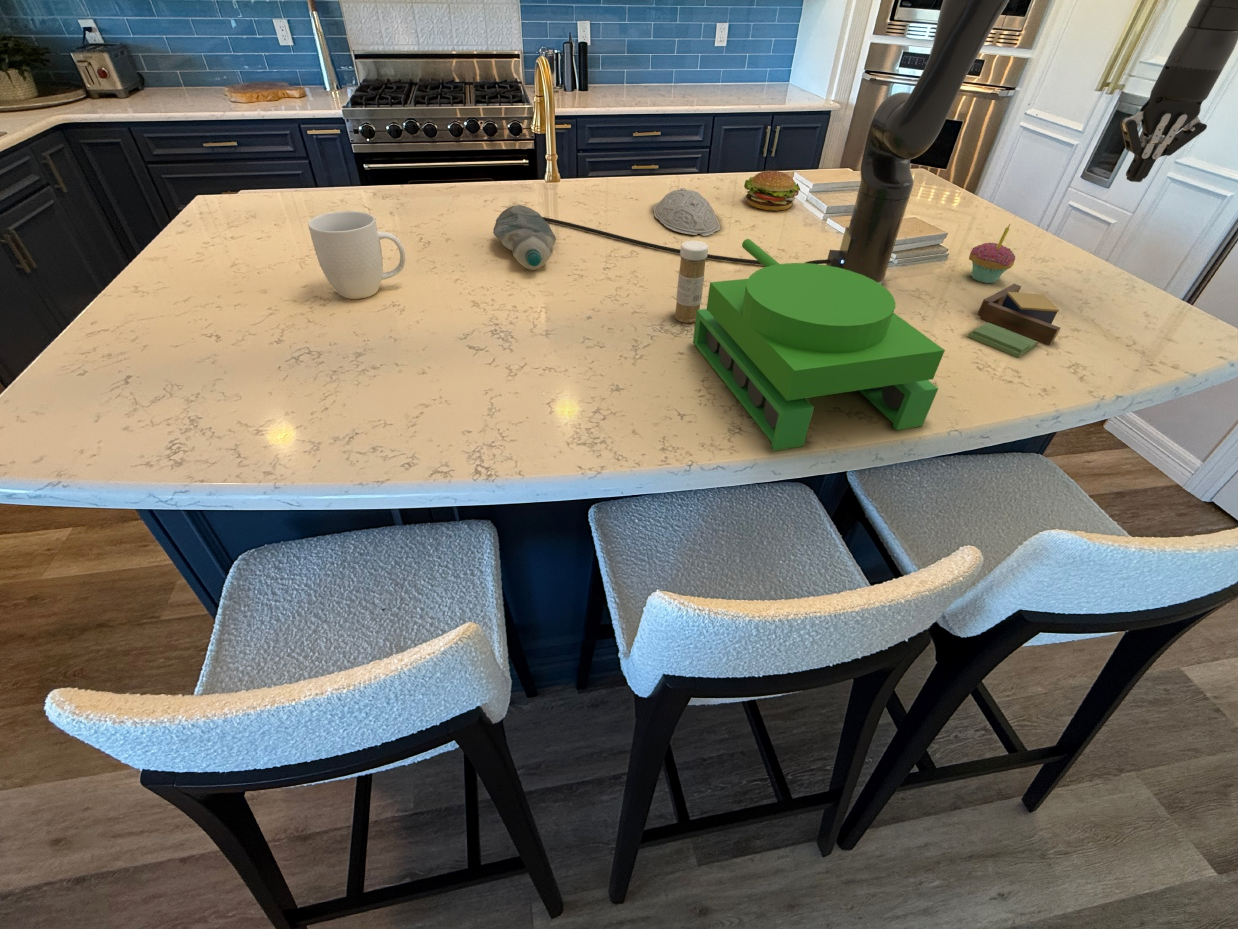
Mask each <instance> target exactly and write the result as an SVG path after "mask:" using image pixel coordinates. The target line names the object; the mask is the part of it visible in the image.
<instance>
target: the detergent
mask: <svg viewBox="0 0 1238 929" xmlns="http://www.w3.org/2000/svg"><path fill="white" fill-rule="evenodd" d="M542 217H543V216H542V215H541V214H540V213H539V212H538V211H536V210H534V209H533V208H531V207H529V206H525V205H521V204H519V205H518V204H517V205H515V204H514V205H512V206H509V207H507V208H506V209H504V210H503V211H501V213H500V214H499V215H498V216H497V218H496V220H495V224H494V227H493V232H492V233H493V235H494V236H495V237H496V238H497V240H499V241H500V242H501V244H502V245H503V247H505V249H508V250H510V251H512V256H513V257H514V259H515V260H516V261H517V262H518V263H519V264H520V265H521V266H522V267H523V268H525V269H527V270H529V271H536V270H538V269H541V267H543V266H544V265H545V264H546V263H547V262H548V261H549V259H550V257H551V255H552V249H553V247H554V246H555V243H556V240H557V238H556V234H554V232H553V229H552V228H551V226H550V224H549V222H547V221H545V220H544V219H543V218H542Z"/></svg>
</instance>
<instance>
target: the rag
mask: <svg viewBox="0 0 1238 929" xmlns="http://www.w3.org/2000/svg"><path fill="white" fill-rule="evenodd" d="M967 338H970V339H971V340H974V341H976V342H979V343H981V344H984V345H987V346H989V347H991V348H994V349H997V350H998V351H1000V352H1003V353H1006V354H1008V355H1011V356H1013V357H1016V358H1019V357H1021V356H1022V355H1024V354H1026V353H1028V352H1029V351H1031V349H1033V348H1035V347H1036V346H1037V345H1038V344H1039V341H1037V340H1034V339H1032V338H1029V337H1027V336H1024V335H1022V334H1019V333H1016V332H1014V331H1011V330H1009V329H1006V328H1003V327H1001V326H998V325H996V324H993V323H991V322H988V321H986V323H984V324H982V325H980V326H977V327H976V328H974V329H973V330H971V331H970V332H968V334H967Z"/></svg>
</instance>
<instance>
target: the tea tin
mask: <svg viewBox="0 0 1238 929" xmlns="http://www.w3.org/2000/svg"><path fill="white" fill-rule="evenodd" d="M1002 306H1003V307H1006V308H1009V309H1011V310H1014V311H1017V312H1020V313H1022V314H1025V315H1028V316H1030V317H1033V318H1036V319H1039V320H1041V321H1044V322H1047V323H1049V324H1052V325H1053V322H1054V320H1055V318H1056V316H1057V314H1058V312H1059V311H1060V309H1059V308H1058V307H1057V306H1056V305H1055V304H1054V303H1053V301H1051V300H1050V299H1049V298H1048V297H1047V296H1046V295H1045V293H1033V292H1020V291H1019V292H1007V295H1006V297H1005V299H1004V302H1003V304H1002Z"/></svg>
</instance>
